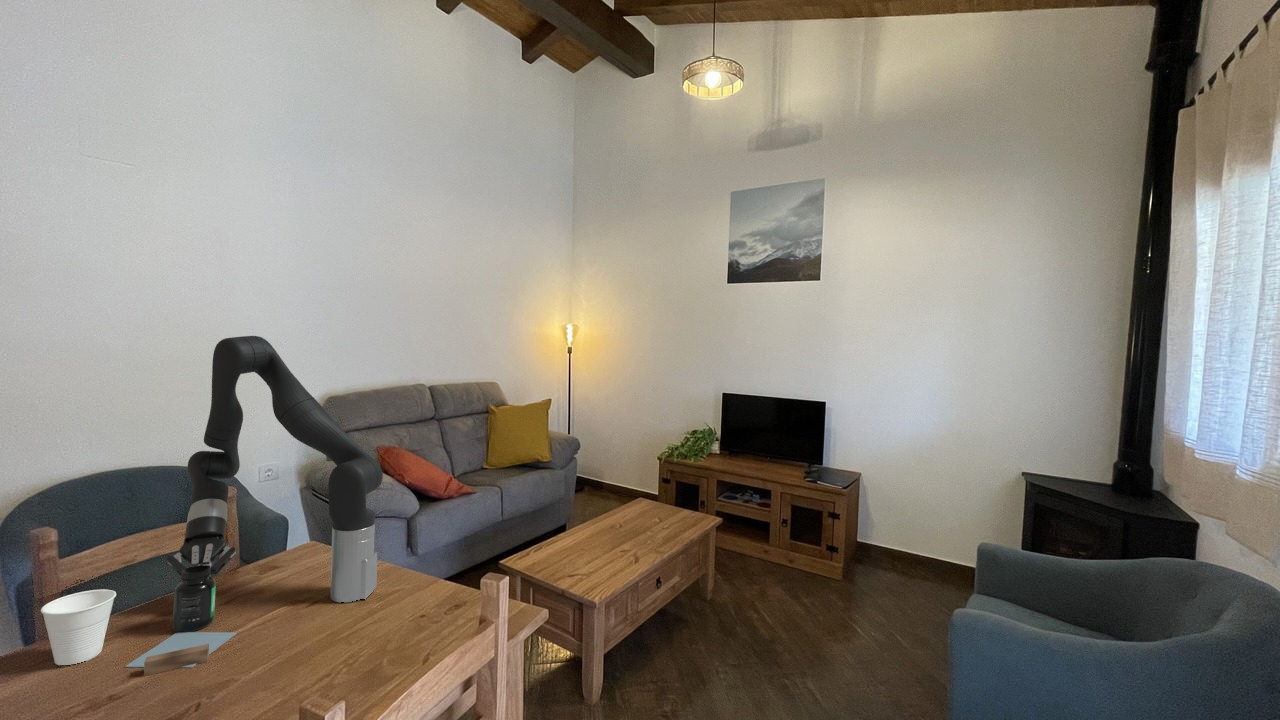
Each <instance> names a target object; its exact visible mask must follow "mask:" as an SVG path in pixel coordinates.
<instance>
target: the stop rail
mask: <svg viewBox="0 0 1280 720" xmlns="http://www.w3.org/2000/svg"><path fill="white" fill-rule="evenodd" d="M209 657H210V654H209V644H206V645H201V646H196V647H192V648H187V649H182V650H178V651H173V652H168V653H164V654H159V655H154V656H149V657H147V658H146V660H145V662H144V667H143V677H146V676H151V675H155V674H158V673H163V672H168V671H173V670H178V669H182V667H183V666H187V665H192V664H196V665H198V664H203V663H207V662H208V661H209Z"/></svg>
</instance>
